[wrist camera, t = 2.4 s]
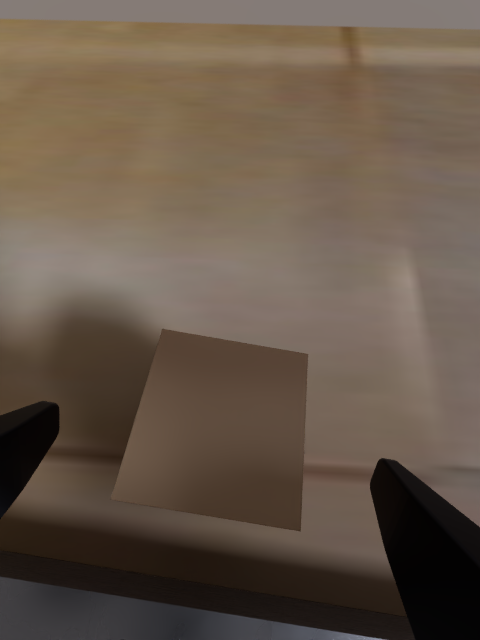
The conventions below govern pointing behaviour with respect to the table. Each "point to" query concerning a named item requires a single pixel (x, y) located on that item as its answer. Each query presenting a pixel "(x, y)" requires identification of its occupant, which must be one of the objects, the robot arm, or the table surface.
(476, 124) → the table surface
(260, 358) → the walnut peg
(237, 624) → the grey slotted board
